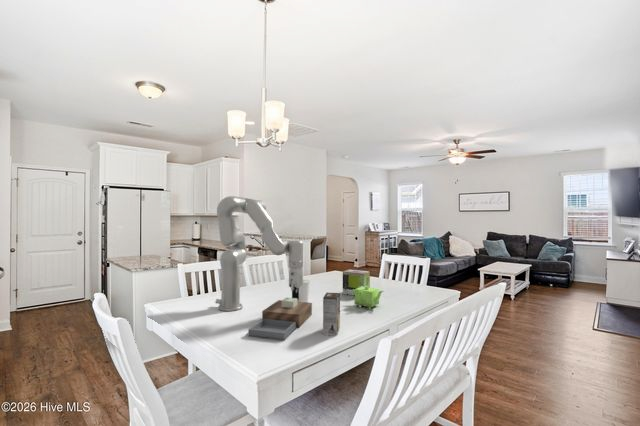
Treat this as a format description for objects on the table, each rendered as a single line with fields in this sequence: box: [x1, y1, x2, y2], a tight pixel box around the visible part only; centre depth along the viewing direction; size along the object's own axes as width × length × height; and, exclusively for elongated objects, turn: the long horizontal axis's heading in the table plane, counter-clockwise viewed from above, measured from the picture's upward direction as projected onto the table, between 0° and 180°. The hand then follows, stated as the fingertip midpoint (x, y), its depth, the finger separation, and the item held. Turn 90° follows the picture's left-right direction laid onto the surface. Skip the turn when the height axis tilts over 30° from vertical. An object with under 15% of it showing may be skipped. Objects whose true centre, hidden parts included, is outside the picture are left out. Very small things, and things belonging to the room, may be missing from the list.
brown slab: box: [261, 299, 313, 329], centre depth 160 cm, size 18×20×6 cm
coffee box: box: [322, 292, 341, 336], centre depth 144 cm, size 9×6×16 cm
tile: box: [281, 297, 298, 308], centre depth 162 cm, size 6×6×3 cm
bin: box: [247, 318, 297, 341], centre depth 142 cm, size 16×14×3 cm
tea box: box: [342, 269, 371, 296], centre depth 210 cm, size 15×10×15 cm, turn 58°
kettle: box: [351, 286, 385, 309], centre depth 183 cm, size 15×14×11 cm
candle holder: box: [297, 278, 311, 303], centre depth 192 cm, size 10×10×12 cm
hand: (295, 299), depth 170 cm, fingers closed
